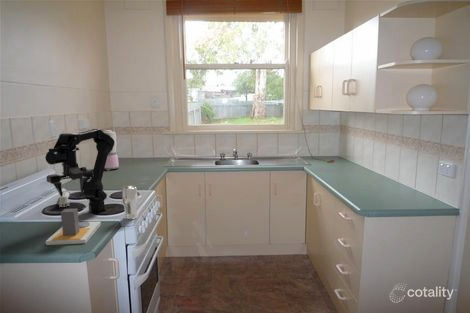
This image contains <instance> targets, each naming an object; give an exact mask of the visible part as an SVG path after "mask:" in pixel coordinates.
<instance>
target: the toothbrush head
mask: <svg viewBox="0 0 470 313" xmlns="http://www.w3.org/2000/svg"><path fill="white" fill-rule="evenodd" d="M70 196H71V192H70V191H69V190H62V197H61V196H60V197H59V202H58V204H57V205H59V208H60V207H66V208H68V207H67V206H69V207H70V200H69V197H70Z"/></svg>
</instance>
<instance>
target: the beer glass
mask: <svg viewBox="0 0 470 313" xmlns="http://www.w3.org/2000/svg"><path fill="white" fill-rule="evenodd" d="M121 199H122V202H123V203H122V204H123V207H124V219H125V220H131V221H132V220H135V219H137V218H138V212H137V206H138V189H137V186H136V185H125V186H122V187H121Z"/></svg>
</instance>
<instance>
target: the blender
mask: <svg viewBox="0 0 470 313" xmlns="http://www.w3.org/2000/svg"><path fill="white" fill-rule="evenodd" d="M103 132H104V133H106V134H108V135H109V136H110V137H112V138H113V140H114V146H113V149H112V151H111V152H110V153H109V154H108V156H107V160H106V164H105V168H104V170H106V171H107V172H109V171H111V170H115V169H117V170H119V169H120V165H119V156H118V154H117V144H118V142H117V135H116V131H112V130H111V129H109V130H108V129H107V130H106V129H105V130H104V131H103Z"/></svg>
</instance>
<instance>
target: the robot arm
mask: <svg viewBox="0 0 470 313" xmlns="http://www.w3.org/2000/svg"><path fill="white" fill-rule="evenodd" d="M104 132H105V131H104V130H102V129H100V128H92V129H90V130H85V131H80V132H76V133H66V132H65V133H63V132H62V133H60V134H59V136H58V138H57V140H56V142H55V144H54V146H53V147H52V148H51V147H50V148H48V152H46V154H45V161H46V163H47V164H48V165H56V164H61V166H62V175H59V174H57V173H54V174H48V175H47V176H46V182H47V183H50V184H52V185H53V186H54V187H55V189H56V191H57V193H58V194H59V196H60V197H62V192H63V189H62V182H61V181H62V180H68V179H69V180H74V181H76V180H78V179H79V186H80V192H81V194H82V193H83V195H84V196H85V198H86V200H88V212H91V213H93V214H97V213H96V212H98V213H100V212H99V211H102V212H104V211H103V210H106V211H107V208H105V206H106V205H105V200H107V197H108V194H107V193H106V192H105V191H104V186H103V183H102V179H103V176H104V171H105V169H104V168H105V164H106V160H107V156H108V154H109V153H110V152H111V151H112V149H113V146H114V140H113V138H112V137H110V136H109V135H108V134H106V133H104ZM91 139H93V142H94V143H95V144H96V145H95V148H96V151H97V154H96V158H95V162H94V166H93V170H91V169H87V167H86V166H82V167H79V163H78V160H77V151H80V148H79V147H78V145H79V144H80V143H81V142H85V141H88V140H91Z"/></svg>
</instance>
